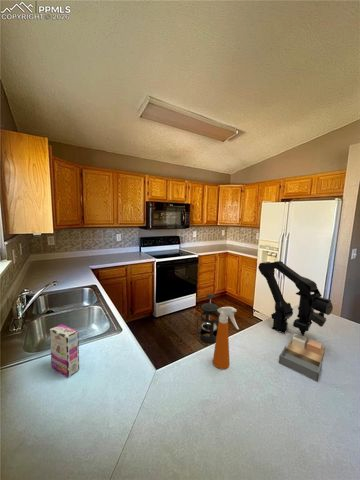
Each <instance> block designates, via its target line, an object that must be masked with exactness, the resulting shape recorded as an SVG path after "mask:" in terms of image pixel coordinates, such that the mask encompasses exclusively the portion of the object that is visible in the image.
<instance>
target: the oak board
mask: <svg viewBox="0 0 360 480" xmlns="http://www.w3.org/2000/svg"><path fill="white" fill-rule="evenodd" d="M307 343H308V341H307V342H306V346H305V348H304V349H303V348H301V347H298V346H296V345H293V344H292V339H291V340H290V342H289V343H288V345H287V348H286V353H288V354H290V355H293V356H295V357H297V358H300V359H302V360H304V361H307V362H309V363H311V364H313V365H316V366H318V367H319V365H320V362H321V361H322V362H323V359H324V356H325V355H324V354H325V349H326V347H323V346H322V349H321V353H320V355H318V354H316V353H313V352H311V351H308V350H307Z"/></svg>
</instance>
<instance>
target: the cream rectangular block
mask: <svg viewBox="0 0 360 480" xmlns="http://www.w3.org/2000/svg"><path fill="white" fill-rule="evenodd" d="M291 340H292V344H293V345H296V346H298V347H301V348H303V349H304V348H305V346H306V342H308V337H305V336H302V335H301V334H297V333H295V334H293V336H292V338H291Z"/></svg>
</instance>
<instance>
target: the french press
mask: <svg viewBox="0 0 360 480" xmlns="http://www.w3.org/2000/svg"><path fill="white" fill-rule="evenodd" d="M206 297H207V298H209V302H206V303H205V302H204V303H202V304H201V305H200V307H201V312H202V313H201V314H200V315H197V316H196V334H197V335H199V340H200V341H201V343H205V344H209V345H212V344H213V345H214V344H215V343H216V337H217V330H218V324H219V316H220V315H218V313H219V312H218V311H217V309H219V308H220V306H219V305H218V304H215V303H213V302H212V299H213V298H215V297H216V296H215V294H213V293H208V294H206ZM211 315H212V316H214V317H216V319H213V320H211ZM203 316H205V318H204V317H203ZM199 319H200V329H199ZM208 334H209V336H206V335H208Z"/></svg>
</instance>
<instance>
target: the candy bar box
mask: <svg viewBox="0 0 360 480" xmlns="http://www.w3.org/2000/svg"><path fill="white" fill-rule="evenodd" d="M49 336H50V337H49V338H50V339H49V341H50V363H51V368H52V369H53V370H54V371H57V372H58V373H59V374H61V375H63V376H65V377H67V378H68V379H69V378H70V377H71V376H73V375H74V374H76V373H77V372H79V371H80V351H79V349H80V348H79V347H80V345H79V344H80V343H79V342H80V341H79V340H80V339H79V330H76V329H74V328H72V327H70V326H67V325H65V324H62V323H60V324H59V325H56V326H54V327H52V328H50V329H49Z"/></svg>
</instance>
